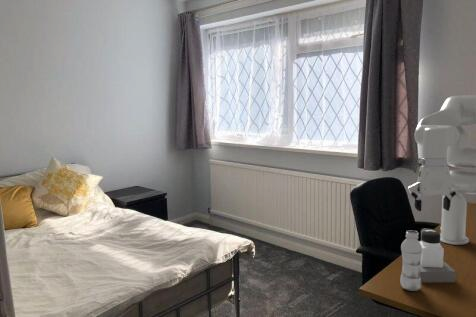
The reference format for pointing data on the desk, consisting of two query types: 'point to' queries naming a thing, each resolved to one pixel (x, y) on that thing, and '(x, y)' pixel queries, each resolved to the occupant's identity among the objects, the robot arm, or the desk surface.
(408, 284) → the plastic bottle
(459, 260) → the desk surface
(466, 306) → the desk surface
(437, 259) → the medicine bottle
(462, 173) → the robot arm
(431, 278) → the base block
